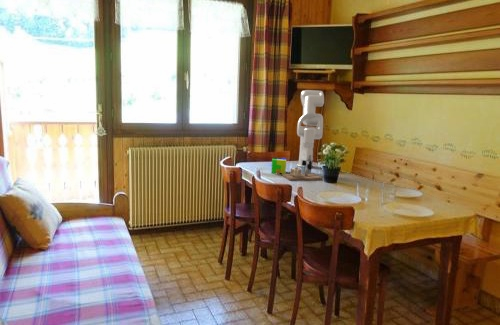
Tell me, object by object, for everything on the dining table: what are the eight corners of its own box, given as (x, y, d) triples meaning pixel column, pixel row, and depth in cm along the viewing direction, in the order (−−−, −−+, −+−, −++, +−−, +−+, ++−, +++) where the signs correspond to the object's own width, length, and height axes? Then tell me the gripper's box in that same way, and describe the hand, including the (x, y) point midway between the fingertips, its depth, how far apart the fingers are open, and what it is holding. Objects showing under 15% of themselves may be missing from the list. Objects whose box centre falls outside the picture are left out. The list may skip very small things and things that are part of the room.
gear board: (282, 175, 275) (283, 165, 274) (313, 175, 282) (314, 165, 280) (289, 180, 262) (290, 169, 260) (322, 180, 268) (323, 169, 267)
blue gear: (299, 172, 290) (300, 165, 289) (308, 172, 292) (309, 165, 291) (303, 174, 283) (304, 167, 282) (312, 174, 285) (312, 167, 284)
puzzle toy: (285, 171, 290) (286, 158, 288) (285, 174, 280) (286, 160, 278) (271, 170, 291) (272, 157, 289) (271, 173, 281) (272, 159, 279)
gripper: (298, 143, 290) (297, 166, 293) (308, 146, 274) (306, 170, 277) (308, 143, 292) (306, 166, 295) (318, 146, 276) (316, 170, 279)
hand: (306, 168), depth 286 cm, fingers open, 9 cm apart
